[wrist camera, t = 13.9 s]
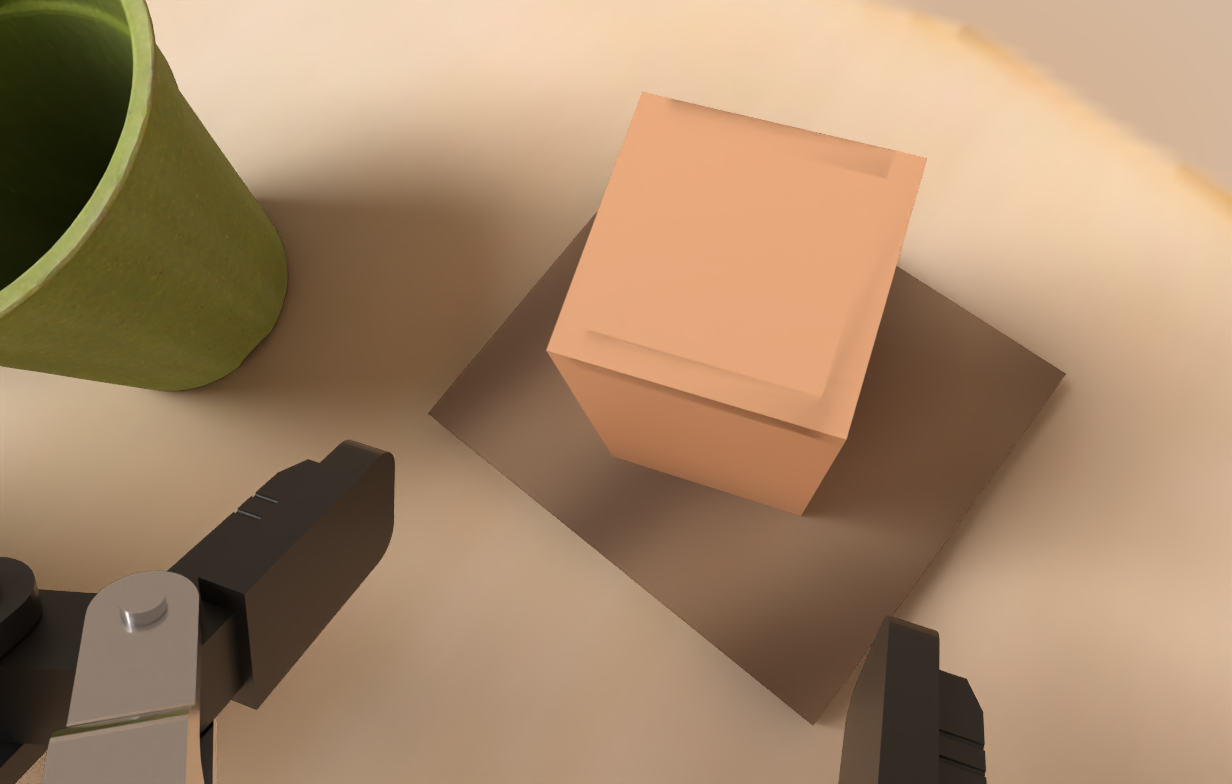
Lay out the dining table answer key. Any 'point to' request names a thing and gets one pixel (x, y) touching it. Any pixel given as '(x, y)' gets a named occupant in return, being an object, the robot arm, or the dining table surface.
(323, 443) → the dining table surface
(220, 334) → the plant pot
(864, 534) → the plate
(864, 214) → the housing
